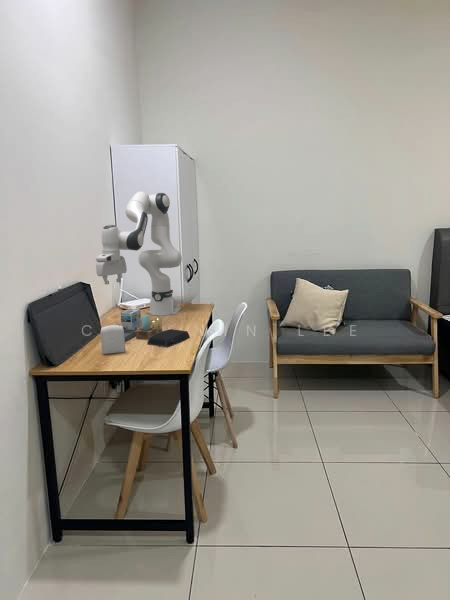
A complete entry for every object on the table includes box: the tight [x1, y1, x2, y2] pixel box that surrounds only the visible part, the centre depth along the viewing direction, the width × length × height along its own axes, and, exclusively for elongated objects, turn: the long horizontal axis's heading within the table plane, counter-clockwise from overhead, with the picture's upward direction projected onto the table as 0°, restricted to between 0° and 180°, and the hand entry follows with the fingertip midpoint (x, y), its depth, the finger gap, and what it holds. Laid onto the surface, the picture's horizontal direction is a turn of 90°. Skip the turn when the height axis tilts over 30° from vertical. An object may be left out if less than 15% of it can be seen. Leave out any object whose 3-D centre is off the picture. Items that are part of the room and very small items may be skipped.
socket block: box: [135, 326, 157, 341], centre depth 227 cm, size 8×8×4 cm
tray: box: [124, 329, 137, 343], centre depth 227 cm, size 14×9×2 cm, turn 164°
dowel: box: [141, 314, 151, 331], centre depth 226 cm, size 4×4×11 cm
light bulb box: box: [120, 308, 142, 330], centre depth 240 cm, size 11×7×11 cm, turn 165°
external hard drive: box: [146, 328, 191, 348], centre depth 220 cm, size 13×19×4 cm
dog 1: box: [150, 319, 159, 333], centre depth 232 cm, size 3×3×7 cm
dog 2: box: [154, 317, 163, 333], centre depth 237 cm, size 3×3×7 cm
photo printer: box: [100, 324, 126, 355], centre depth 203 cm, size 10×4×12 cm, turn 105°
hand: (112, 283), depth 239 cm, fingers open, 8 cm apart
